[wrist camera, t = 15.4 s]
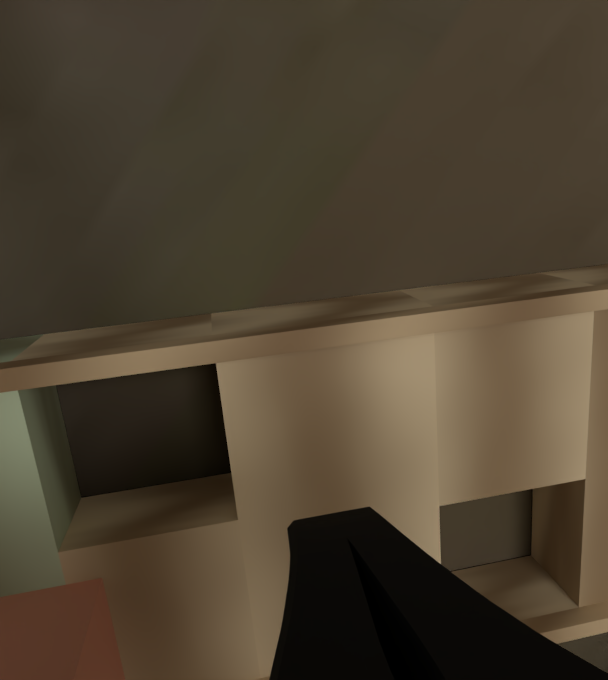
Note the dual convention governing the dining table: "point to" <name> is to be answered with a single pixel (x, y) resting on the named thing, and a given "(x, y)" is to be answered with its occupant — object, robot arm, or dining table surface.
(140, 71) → the dining table surface
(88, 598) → the brick block
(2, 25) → the dining table surface
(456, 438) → the trap tray
